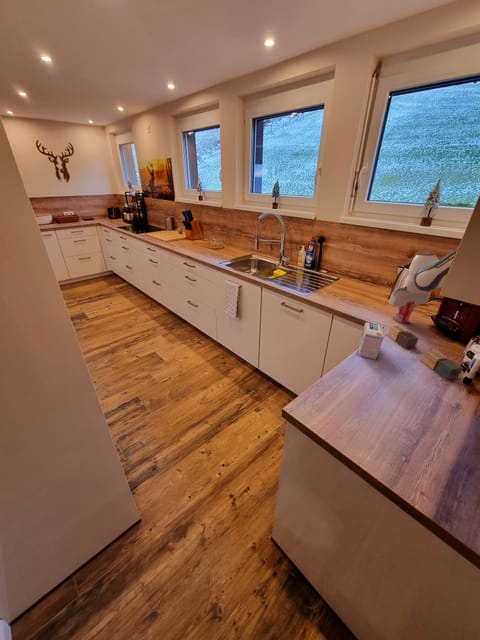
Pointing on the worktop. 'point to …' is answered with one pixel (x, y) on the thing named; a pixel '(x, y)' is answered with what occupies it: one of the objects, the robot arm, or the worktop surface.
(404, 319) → the beverage can
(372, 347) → the light bulb box
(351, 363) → the worktop surface
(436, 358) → the block row
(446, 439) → the worktop surface
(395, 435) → the worktop surface
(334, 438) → the worktop surface
